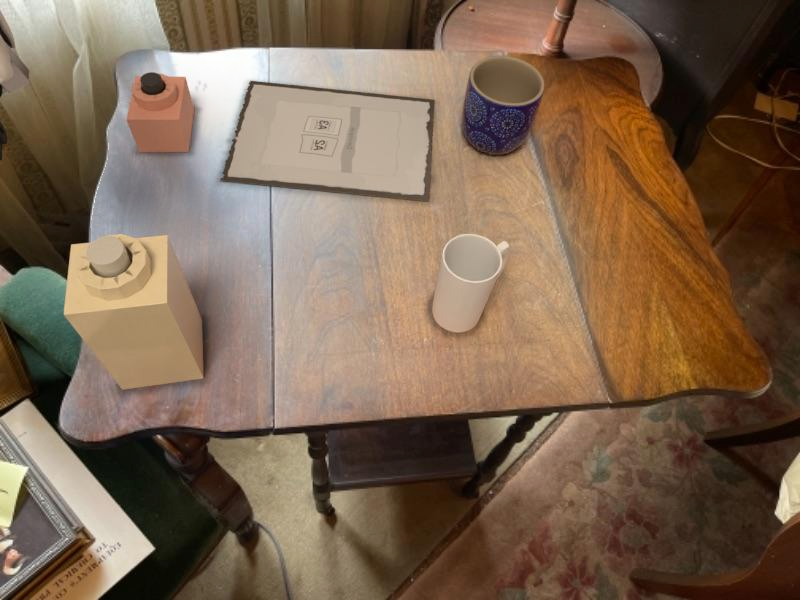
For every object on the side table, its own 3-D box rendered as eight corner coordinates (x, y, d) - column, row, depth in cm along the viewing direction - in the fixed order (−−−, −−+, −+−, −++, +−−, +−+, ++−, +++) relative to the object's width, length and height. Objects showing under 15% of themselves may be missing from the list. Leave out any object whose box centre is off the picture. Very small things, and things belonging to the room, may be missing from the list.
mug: (450, 344, 75) (467, 292, 65) (419, 305, 78) (430, 249, 68) (511, 307, 79) (536, 252, 69) (479, 271, 82) (498, 213, 71)
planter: (443, 126, 96) (454, 66, 86) (500, 106, 99) (516, 47, 90) (481, 172, 91) (497, 114, 82) (539, 150, 95) (561, 92, 85)
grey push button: (92, 279, 55) (84, 266, 53) (95, 251, 57) (87, 237, 55) (129, 275, 55) (122, 262, 54) (131, 247, 57) (124, 234, 55)
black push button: (142, 95, 84) (138, 85, 82) (145, 82, 85) (141, 71, 83) (163, 96, 84) (160, 85, 82) (165, 82, 85) (162, 72, 84)
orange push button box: (139, 152, 88) (122, 109, 81) (147, 110, 93) (131, 65, 86) (188, 152, 89) (176, 109, 82) (194, 110, 94) (182, 65, 87)
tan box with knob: (122, 389, 69) (54, 303, 53) (125, 329, 73) (62, 231, 57) (203, 378, 70) (161, 291, 54) (202, 319, 75) (162, 221, 58)
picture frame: (220, 181, 86) (429, 202, 87) (219, 179, 86) (429, 200, 87) (249, 81, 98) (434, 100, 99) (249, 79, 97) (434, 98, 98)
